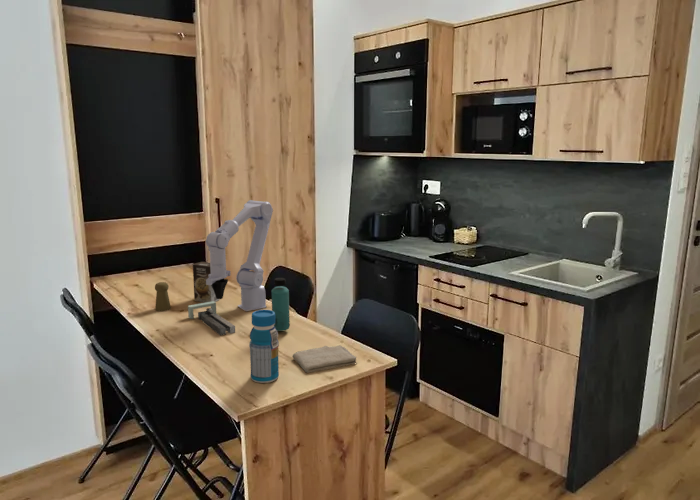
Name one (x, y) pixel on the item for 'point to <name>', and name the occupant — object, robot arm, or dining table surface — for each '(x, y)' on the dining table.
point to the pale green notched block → (201, 305)
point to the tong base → (211, 323)
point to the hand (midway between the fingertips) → (219, 298)
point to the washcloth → (324, 358)
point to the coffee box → (202, 283)
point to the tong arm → (222, 321)
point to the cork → (162, 297)
